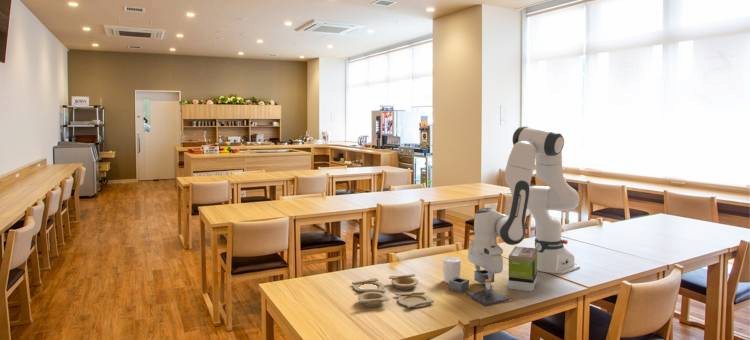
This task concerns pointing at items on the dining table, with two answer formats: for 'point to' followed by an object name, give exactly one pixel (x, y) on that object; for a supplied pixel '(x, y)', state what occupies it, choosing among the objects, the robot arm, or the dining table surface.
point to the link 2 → (482, 276)
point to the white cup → (451, 268)
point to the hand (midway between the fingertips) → (484, 277)
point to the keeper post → (488, 295)
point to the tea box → (523, 268)
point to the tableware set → (406, 299)
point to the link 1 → (459, 285)
